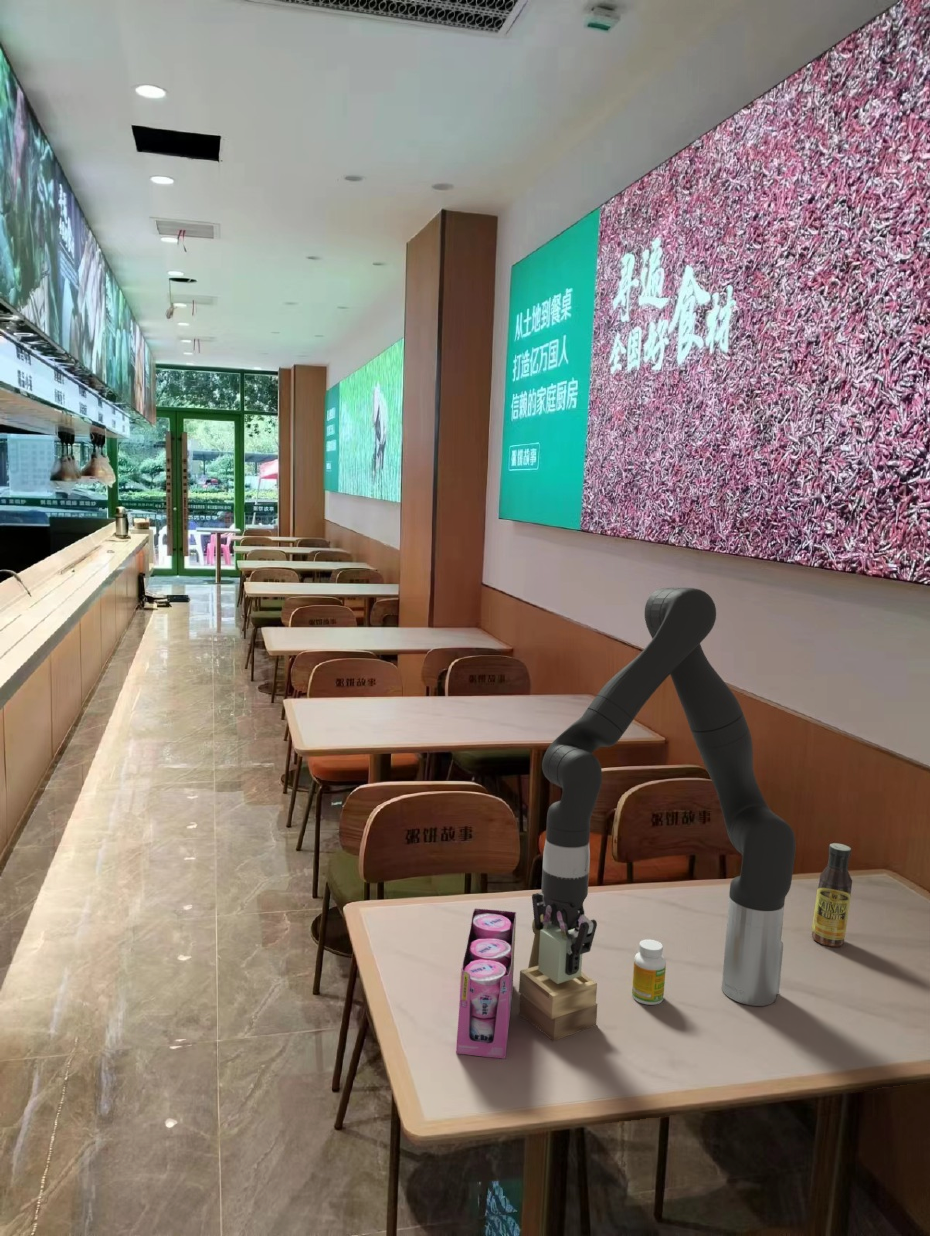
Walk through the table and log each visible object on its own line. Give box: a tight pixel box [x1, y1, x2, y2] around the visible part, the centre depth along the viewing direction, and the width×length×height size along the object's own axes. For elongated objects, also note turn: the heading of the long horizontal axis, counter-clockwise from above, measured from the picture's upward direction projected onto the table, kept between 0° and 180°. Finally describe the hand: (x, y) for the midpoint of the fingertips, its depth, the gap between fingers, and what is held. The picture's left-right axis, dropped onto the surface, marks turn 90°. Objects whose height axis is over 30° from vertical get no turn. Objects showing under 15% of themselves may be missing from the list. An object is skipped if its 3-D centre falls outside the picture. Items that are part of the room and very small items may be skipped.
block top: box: [518, 966, 598, 1019], centre depth 150 cm, size 9×9×4 cm
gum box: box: [455, 908, 517, 1059], centre depth 149 cm, size 24×8×14 cm, turn 174°
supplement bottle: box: [631, 939, 667, 1006], centre depth 158 cm, size 5×5×10 cm
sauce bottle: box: [811, 842, 853, 948], centre depth 182 cm, size 7×6×20 cm
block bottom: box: [518, 993, 598, 1042], centre depth 150 cm, size 9×9×4 cm
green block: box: [538, 926, 583, 984], centre depth 149 cm, size 5×5×7 cm
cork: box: [527, 914, 543, 969], centre depth 164 cm, size 6×6×11 cm
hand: (560, 965), depth 150 cm, fingers closed on green block, 5 cm apart
